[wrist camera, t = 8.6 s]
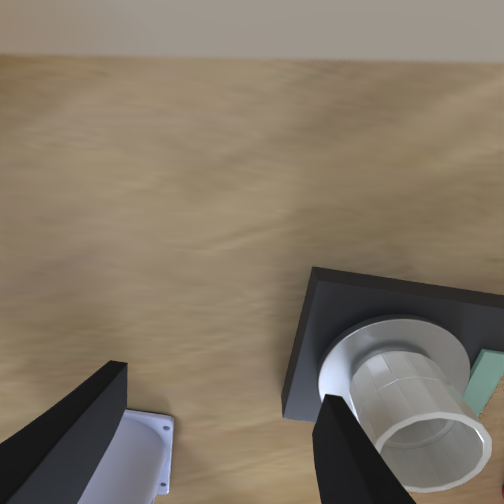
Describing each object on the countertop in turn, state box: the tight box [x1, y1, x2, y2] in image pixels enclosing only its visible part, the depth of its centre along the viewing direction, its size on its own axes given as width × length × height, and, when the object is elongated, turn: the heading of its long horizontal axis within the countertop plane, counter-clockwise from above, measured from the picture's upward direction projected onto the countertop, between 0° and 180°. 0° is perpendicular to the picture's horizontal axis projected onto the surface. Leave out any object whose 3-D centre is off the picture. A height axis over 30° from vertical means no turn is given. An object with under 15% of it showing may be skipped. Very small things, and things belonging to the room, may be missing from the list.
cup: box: [349, 351, 492, 493], centre depth 16 cm, size 5×5×4 cm
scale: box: [281, 267, 504, 423], centre depth 20 cm, size 11×13×2 cm
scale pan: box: [317, 314, 470, 417], centre depth 18 cm, size 9×9×1 cm
